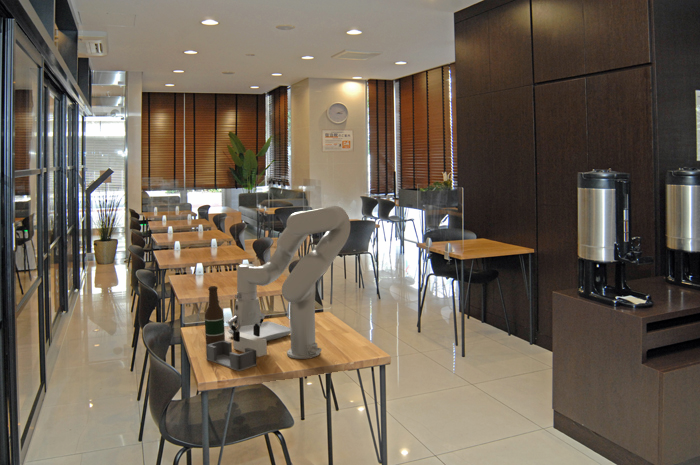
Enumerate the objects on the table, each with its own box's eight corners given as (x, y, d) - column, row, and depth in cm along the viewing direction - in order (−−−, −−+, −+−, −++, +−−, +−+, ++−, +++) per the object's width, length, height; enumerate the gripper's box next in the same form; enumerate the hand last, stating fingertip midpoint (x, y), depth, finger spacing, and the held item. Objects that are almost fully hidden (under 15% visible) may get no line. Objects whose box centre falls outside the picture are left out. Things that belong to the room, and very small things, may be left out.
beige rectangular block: (266, 354, 214) (266, 339, 214) (258, 357, 211) (258, 342, 211) (241, 346, 225) (241, 332, 224) (233, 349, 222) (232, 334, 222)
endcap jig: (256, 365, 202) (256, 350, 201) (238, 371, 196) (238, 355, 196) (224, 354, 215) (223, 340, 215) (206, 359, 209) (205, 345, 209)
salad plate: (226, 337, 240) (226, 329, 239) (268, 327, 254) (268, 320, 253) (253, 347, 224) (252, 339, 224) (295, 336, 238) (295, 329, 238)
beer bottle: (207, 347, 224) (204, 289, 221) (204, 342, 231) (201, 285, 228) (226, 345, 227) (224, 287, 224) (223, 340, 234) (220, 284, 231)
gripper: (234, 301, 207) (234, 345, 209) (270, 294, 220) (270, 336, 222) (222, 297, 212) (222, 340, 214) (258, 290, 225) (258, 332, 227)
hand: (246, 338), depth 218 cm, fingers open, 9 cm apart
